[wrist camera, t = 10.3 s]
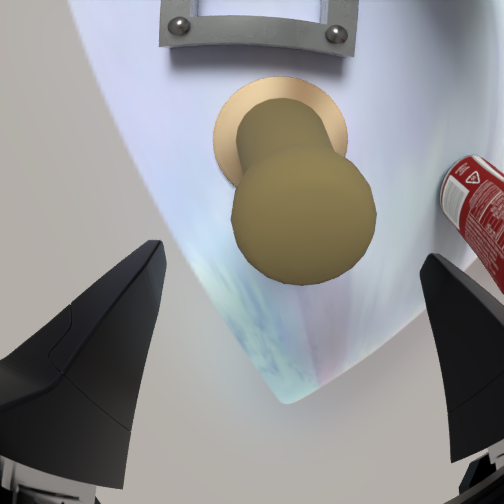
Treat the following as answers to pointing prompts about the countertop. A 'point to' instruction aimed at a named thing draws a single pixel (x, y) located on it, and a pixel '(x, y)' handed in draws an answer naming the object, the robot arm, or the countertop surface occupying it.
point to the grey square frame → (261, 28)
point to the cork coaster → (259, 93)
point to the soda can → (477, 210)
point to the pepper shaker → (298, 197)
